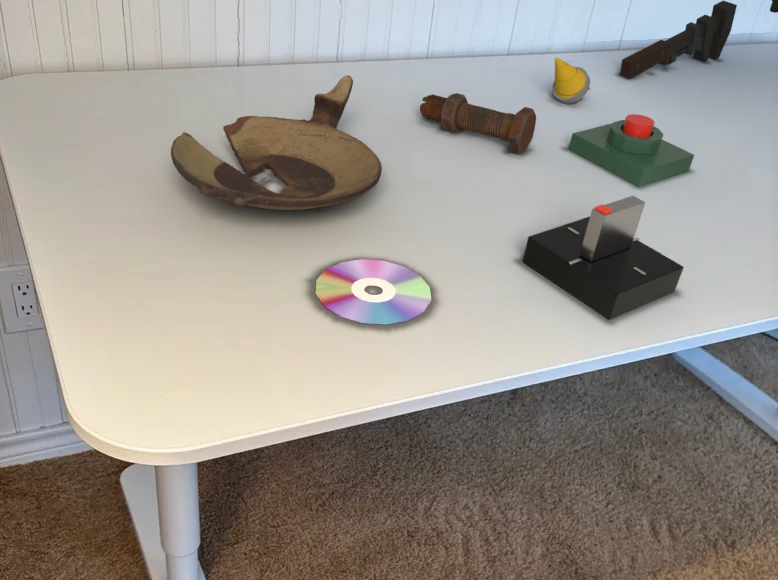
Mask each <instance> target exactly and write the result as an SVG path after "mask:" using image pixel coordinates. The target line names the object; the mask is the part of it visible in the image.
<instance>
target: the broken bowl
mask: <svg viewBox="0 0 778 580" xmlns="http://www.w3.org/2000/svg"><path fill="white" fill-rule="evenodd" d="M353 85H354V80H353V78H352V76H351V75H348V74H347V75H344V76H342V77H341V78H340V79H339V81H338V82H337V83H336V85H335V86H334V87H333V88H332V89H331V90H330V91H329V92H327V93H317V94H315V95H314V97H313V100H314V105H313V110H312V116H311V118H310V119H309V120H306V119H294V118H284V117H278V116H260V115H259V116H258V115H245V116H240V117H237V118H236V121H235V122H233V123H231V124H226V125H223V128H222V129H223V132H224V134H225V137H226V140H227V141H228V142H229V145H230V147H231V150H232V151H233V153H234V156H235V158H236V159H237V161H238V163H239V166H240V167H241V168H242V170H243V172H244V173H242V172H241V170H239V169H237V168H235V167H234V166H233V165H231V164H229V163H227V162H226V161H224V160H222V159H221V158H220V157H218V156H216V155H214V154H212V153H211V151H210V150H209V149H208V148H206V147H205V146H204V145H202V144H201V143H199V142H198V140H197V139H195V138H194V136H192V135H191V134H189V133H187V132H186V131H183V132H182V133H181V135H178V136H176V138H175V139H174V140H173V142H172V144H171V147H170V158H171V161H172V164H173V166H174V168H175V169H176V170H177V172H178V174H180V175H181V177H182V178H183V179H184V180H186V181H187V182H188V183H189V184H191V185H193V186H194V187H196V188H197V189H198V191H199V193H200V194H201V195H202V196H205V197H207V198H214V199H219V200H223V201H228V202H230V203H232V204H234V205H236V206H248V207H254V208H257V209H258V208H259V209H265V210H271V211H272V210H275V211H276V210H277V211H298V210H308V209H315V208H323V207H326V206H332V205H337V204H340V203H343V202H347V201H350V200H354V199H356V198H358V197H360V196H362V195H364V194H366V193H367V192H368V191H370V190H372V188H374V187H375V186H377V184H378V183H379V181H380V179H381V176H382V169H383V167H382V162H381V160H380V158H379V157H378V155H377V154H376V153H375V152H374V151H373V150H372V149H371V148H370V147H369V146H368V145H367V144H365V142H363V141H362V140H360V139H358V138H357V137H355V136H353V135H350V134H349V133H346V132H344V131H342V130H340V129H338V125H339V122H340V121H341V118H342V116H343V113H344V111H345V109H346V105H347V104H348V101H349V99H350V96H351V92H352V89H353ZM266 167H268V168H269V169H270V170H271V171H272V173H273V174H274V175H275V176H276V177H277V178H278V179H280V180H281V181H282V182H283V183H285V184H286V186H285V187H284V188H283V190H282V191H281V192H275V191H272V190H271V189H268V187H266V186H263V184H264V183H265V182H267V181H268V180H270V178H266V179H265V180H264V181H263V182H262V183H261V184H259V183H258V182H257V181H255V180H253V179H252V178H250V176H252V175H257V174H258V173H260V172H263V171H264V169H265V168H266Z"/></svg>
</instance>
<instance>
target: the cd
mask: <svg viewBox="0 0 778 580" xmlns="http://www.w3.org/2000/svg"><path fill="white" fill-rule="evenodd" d="M370 286H373V287H374V286H375V287H378V288H380V289H381V290H382V292H381V293H379V294H370V293H368V292H367V291H366V290H365V289H366V288H367V287H370ZM315 295H316V296H317V298H318V299H319V301H320V302H321V304H322V305H323V307H325V308H326V309H328V310H330V311H331V312H333V313H334V314H335V315H338V317H341V318H344V319H347V320H350V321H353V322H358V323H361V324H370V325H372V324H373V325H391V324H396V323H397V324H398V323H402V322H407V321H408V322H409V321H410V320H412V319H413V318H415V317H417V316H419V315H421V314H423V313H425V311H426V309H427V308H428V307H429V304H430V303H431V302H432V294H431V287H430V285H429V284H428V283H427V282H426V281H425V280H424V278H423V277H422V276H421V275H420V274H418V273H417V272H414V271H413V270H412V269H410V268H408V267H406V266H404V265H400V264H398V263H393V262H391V261H390V262H389V261H386V260H381V259H380V260H379V259H367V258H366V259H365V258H360V259H355V260H354V259H353V260H347V261H342V262H339V263H337V264H335V265H333V266H330V267H328V268H326V269H325V270H324V271H323V272H322V273H321V274H320V275H319V276H318V277H317V279H316V281H315Z"/></svg>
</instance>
